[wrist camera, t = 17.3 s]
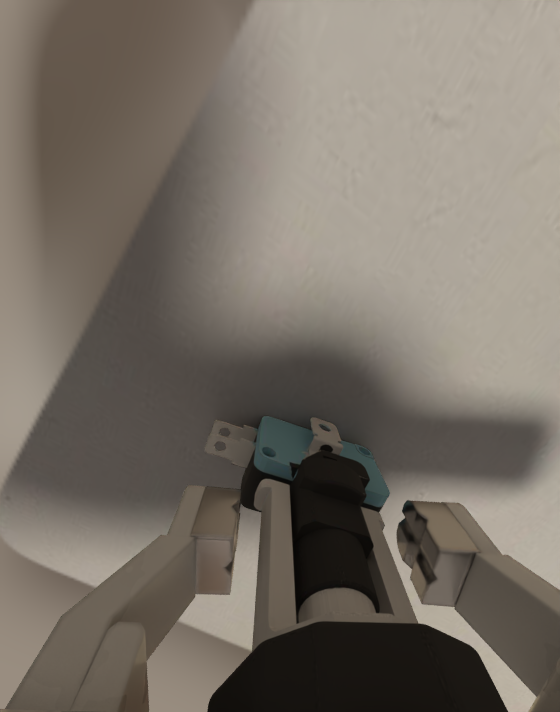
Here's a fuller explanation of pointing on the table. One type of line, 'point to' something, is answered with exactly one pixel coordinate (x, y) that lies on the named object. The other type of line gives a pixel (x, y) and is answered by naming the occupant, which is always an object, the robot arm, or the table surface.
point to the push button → (334, 589)
